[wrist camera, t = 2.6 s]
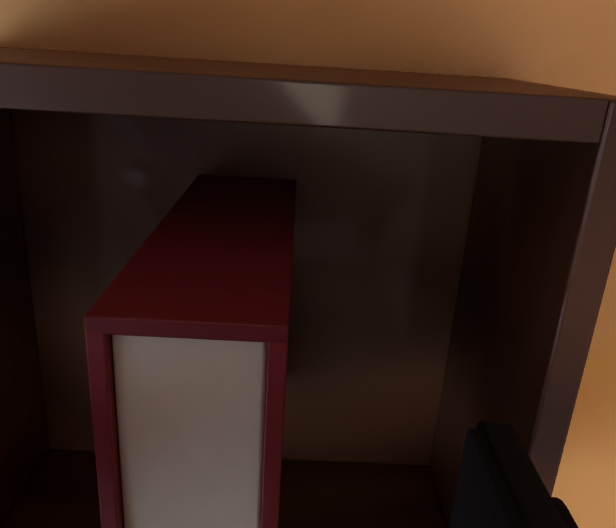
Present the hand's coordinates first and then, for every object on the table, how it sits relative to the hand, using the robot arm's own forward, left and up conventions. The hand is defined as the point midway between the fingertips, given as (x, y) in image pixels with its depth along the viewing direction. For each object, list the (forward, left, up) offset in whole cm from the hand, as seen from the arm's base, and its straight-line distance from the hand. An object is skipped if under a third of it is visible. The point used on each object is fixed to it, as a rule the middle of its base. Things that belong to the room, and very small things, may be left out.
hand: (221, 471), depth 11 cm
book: (0, 0, -9) cm, 9 cm away
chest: (0, 0, -10) cm, 10 cm away
